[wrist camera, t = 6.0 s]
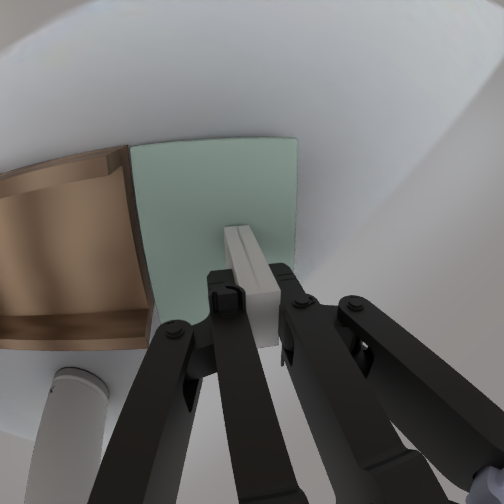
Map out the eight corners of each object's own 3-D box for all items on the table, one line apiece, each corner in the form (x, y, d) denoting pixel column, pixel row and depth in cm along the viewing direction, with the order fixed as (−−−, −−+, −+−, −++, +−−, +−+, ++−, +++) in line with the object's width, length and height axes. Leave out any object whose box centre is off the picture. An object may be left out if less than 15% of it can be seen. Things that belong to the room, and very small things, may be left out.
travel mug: (42, 366, 23) (1, 541, 6) (94, 365, 24) (69, 567, 6) (69, 403, 26) (49, 558, 8) (118, 402, 27) (112, 575, 9)
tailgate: (160, 323, 20) (290, 327, 20) (129, 147, 15) (297, 139, 14) (168, 304, 22) (288, 307, 22) (144, 142, 17) (293, 135, 16)
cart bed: (2, 312, 20) (-51, 409, 9) (-39, 187, 14) (-136, 253, 4) (154, 303, 22) (141, 441, 12) (127, 144, 17) (38, 195, 6)
